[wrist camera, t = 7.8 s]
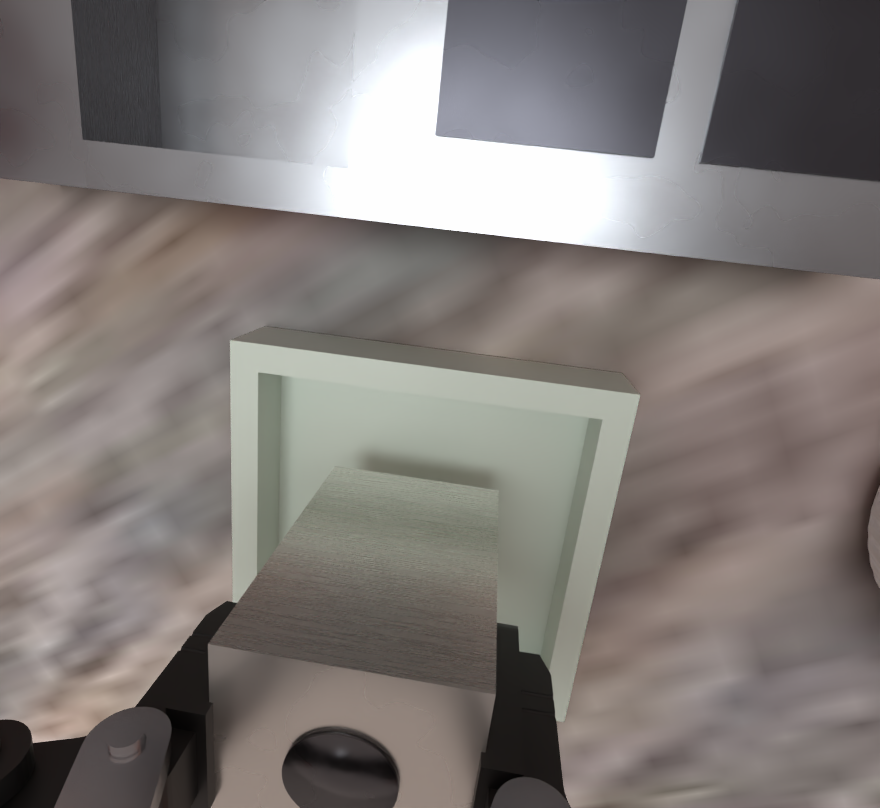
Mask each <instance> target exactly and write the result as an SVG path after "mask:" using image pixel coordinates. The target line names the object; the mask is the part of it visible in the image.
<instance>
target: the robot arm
mask: <svg viewBox="0 0 880 808" xmlns="http://www.w3.org/2000/svg"><path fill="white" fill-rule="evenodd" d="M236 604H237V603H235V602H229V601H226V602H225V603H223V604H222V605H220V606H219V607H217V608H216V609H214V610H213V611H211V612H210V613H208V614H207V615H206V616H205V617H204V619H203V620H202V621H201V622H200V624H199V625H198V626H197V628H196V629H195V630H194V632H193V634H192V636H190V637H189V638H188V639H187V641H186V642H185V643H184V644H183V646H182V648H181V651H178V652H177V654H176V655H175V656H174V657H173V659H172V660H171V661H170V663H169V664H168V665H167V667H166V668H165V669H164V670H163V672H162V673H161V674H160V676H159V677H158V678H157V680H156V681H155V682H154V683H153V685H152V686H151V687H150V689H149V690H148V691H147V692H146V694H145V695H144V696H143V698H142V699H141V700H140V702H139V703H138V704H137V705H136V707H134V708H129V709H126V710H123V711H120V712H117V713H115V714H113V715H111V716H109V717H108V718H106V719H105V720H103V721H102V722H100V723H99V724H98V725H97V726H95V728H94V729H93V730H92V731H91V732H90V733H89V734H88V735H87V736H85V737H80V738H74V739H65V740H56V741H48V742H39V743H33V742H32V736H31V732H30V730H29V728H28V727H27V726H26V725H25V724H24V723H21V722H19V721H15V720H0V808H211V806H212V804H213V802H214V800H215V763H214V719H213V703H212V702H209V670H208V643H209V642H210V640H211V639H212V638H213V636H214V635H215V633H216V632H217V631H218V629H219V628H220V626H221V625H222V624H223V622H224V621H225V619H226V618H227V617H228V615H229V614H230V612H231V611H232V610H233V608H234V607H235V605H236ZM471 808H571V807H570V805H569V803H568V801H567V798H566V795H565V792H564V787H563V779H562V770H561V761H560V752H559V743H558V734H557V724H556V718H555V706H554V700H553V688H552V679H551V674H550V672H549V670H548V668H547V667H546V665H545V663H544V662H543V660H542V658H541V656H540V655H539V654H533V653H527V652H521V651H519V632H518V626H515V625H509V624H503V623H497V642H496V696H495V701H494V707H493V712H492V718H491V724H490V729H489V735H488V740H487V746H486V751H485V752H481V755H480V761H479V767H478V772H477V778H476V784H475V789H474V795H473V800H472V806H471Z"/></svg>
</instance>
